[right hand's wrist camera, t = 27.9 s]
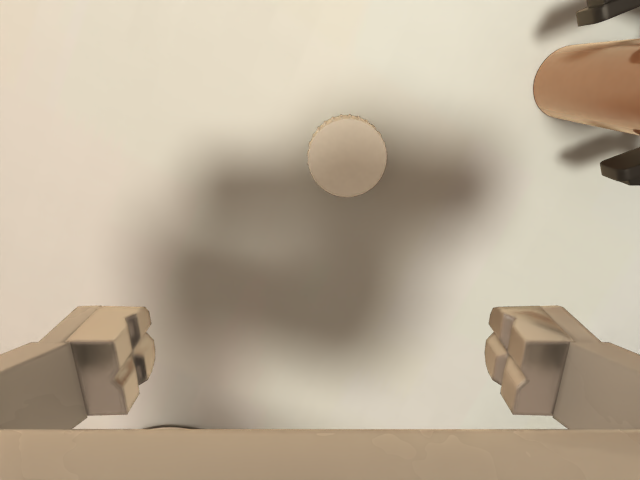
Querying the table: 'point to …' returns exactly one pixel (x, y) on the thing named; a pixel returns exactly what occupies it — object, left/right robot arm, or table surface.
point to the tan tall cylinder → (593, 85)
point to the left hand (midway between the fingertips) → (597, 100)
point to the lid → (347, 156)
